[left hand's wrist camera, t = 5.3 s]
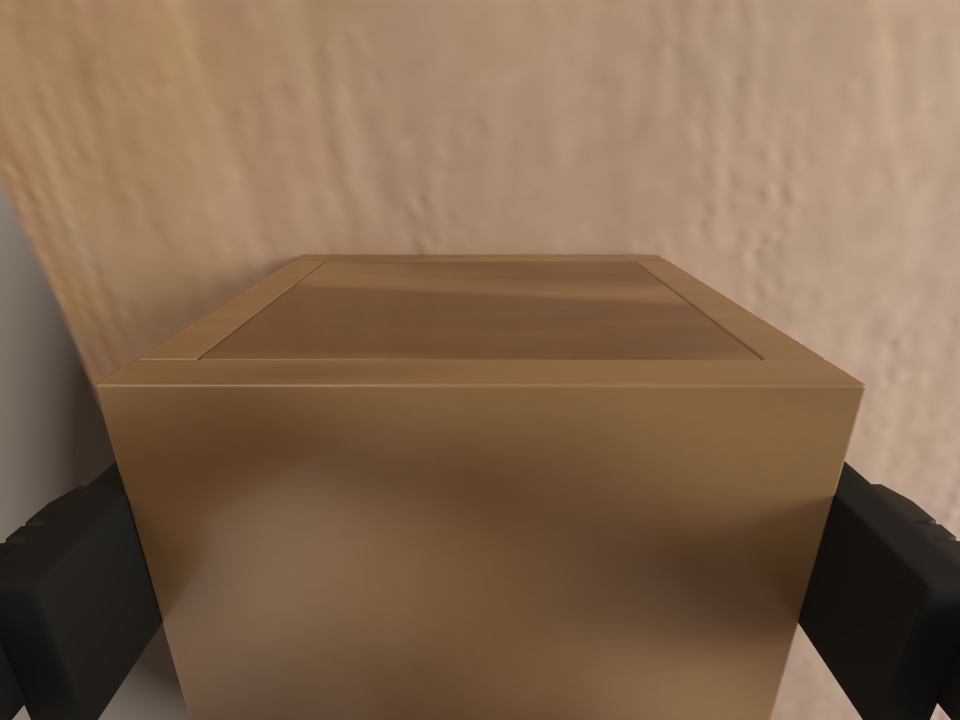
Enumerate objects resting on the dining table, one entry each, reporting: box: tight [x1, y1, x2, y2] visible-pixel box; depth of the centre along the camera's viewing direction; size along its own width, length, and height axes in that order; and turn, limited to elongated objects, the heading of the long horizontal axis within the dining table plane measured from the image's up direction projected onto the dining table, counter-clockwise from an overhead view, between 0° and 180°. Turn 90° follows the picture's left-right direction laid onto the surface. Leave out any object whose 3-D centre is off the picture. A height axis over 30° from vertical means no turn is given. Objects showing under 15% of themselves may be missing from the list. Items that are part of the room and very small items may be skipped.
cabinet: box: [96, 255, 865, 720], centre depth 16 cm, size 17×11×10 cm, turn 0°
